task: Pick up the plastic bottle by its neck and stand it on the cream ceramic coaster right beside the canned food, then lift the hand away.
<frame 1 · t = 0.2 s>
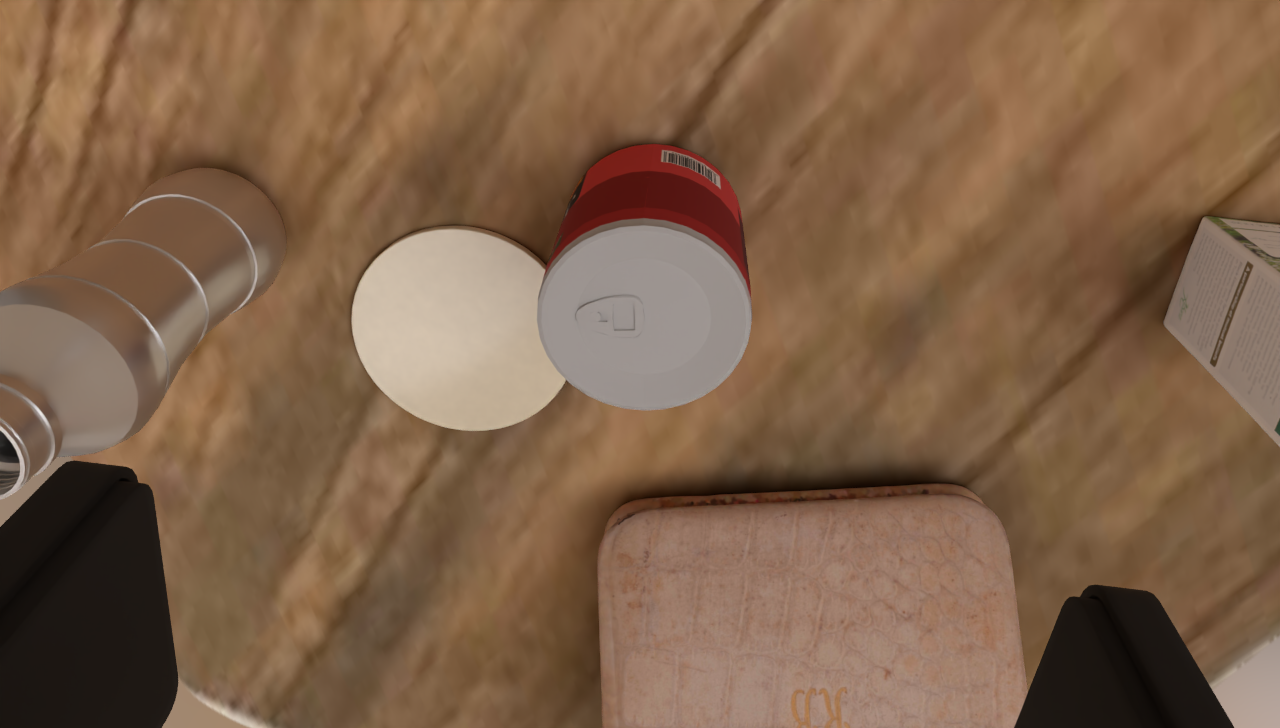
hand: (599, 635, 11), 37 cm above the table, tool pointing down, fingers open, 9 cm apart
coaster: (465, 330, 50), on the table
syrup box: (1238, 273, 47), on the table
case: (795, 623, 58), on the table
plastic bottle: (232, 220, 48), on the table
canned food: (654, 218, 47), on the table
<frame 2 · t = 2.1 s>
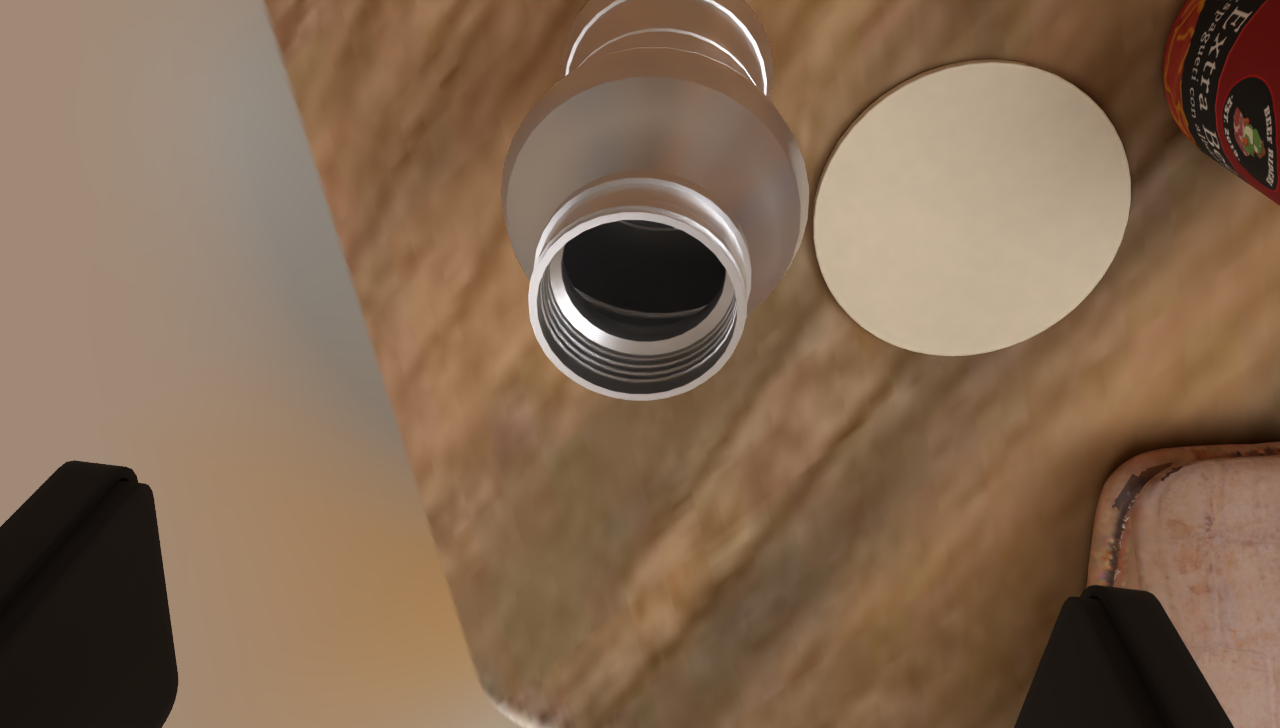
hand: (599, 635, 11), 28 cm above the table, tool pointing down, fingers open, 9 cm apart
coaster: (966, 215, 37), on the table
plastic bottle: (670, 56, 35), on the table
canned food: (1277, 45, 34), on the table
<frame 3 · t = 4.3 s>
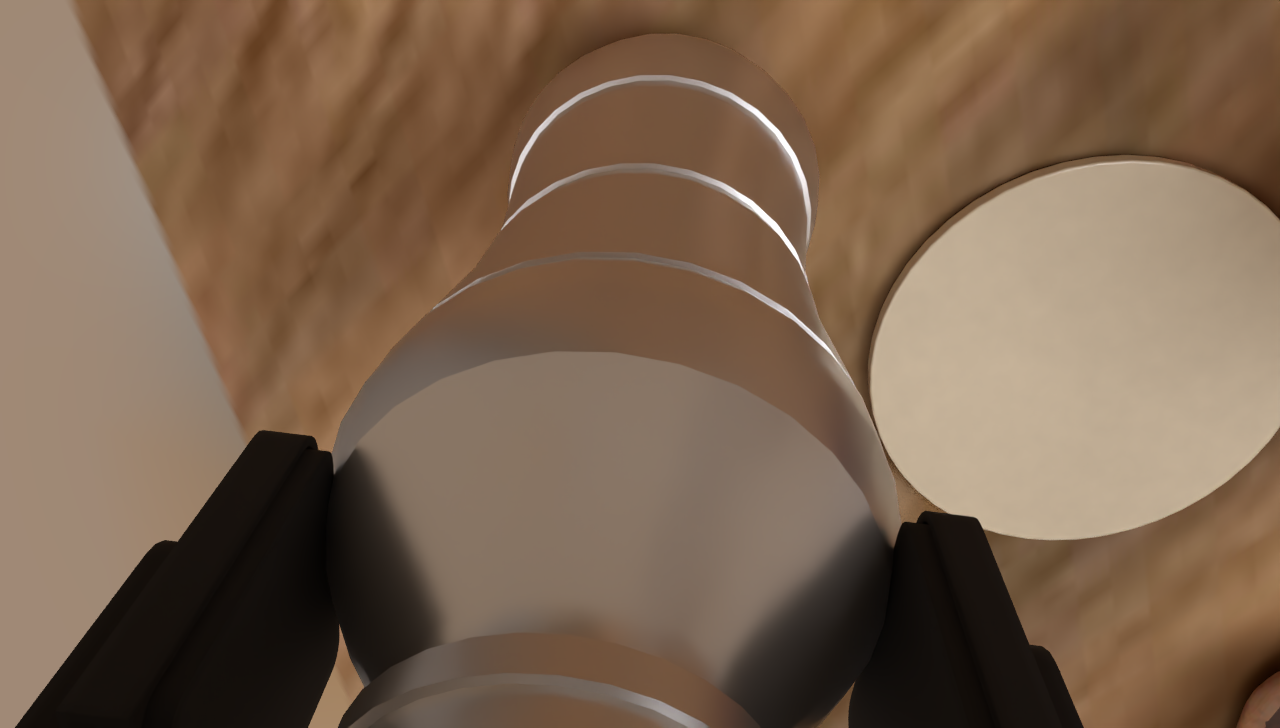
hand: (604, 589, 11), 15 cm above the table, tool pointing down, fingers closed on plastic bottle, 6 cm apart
coaster: (1081, 360, 27), on the table
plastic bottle: (671, 149, 25), on the table, touching gripper
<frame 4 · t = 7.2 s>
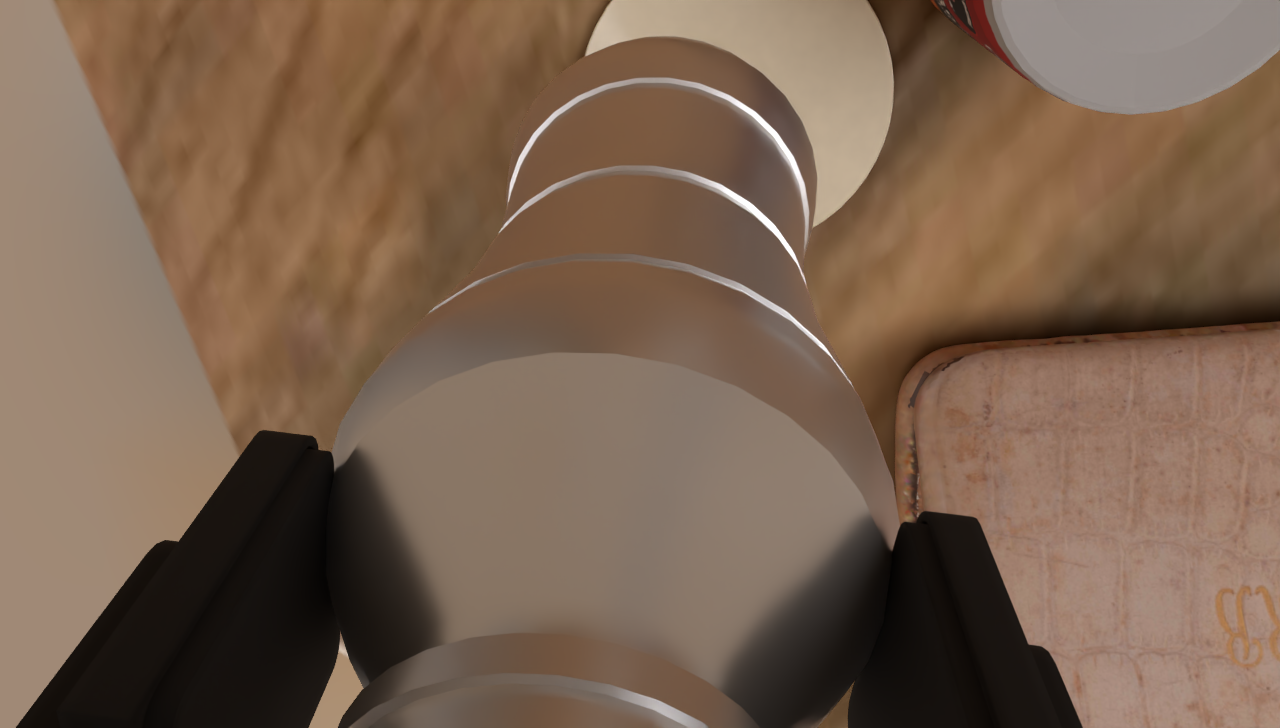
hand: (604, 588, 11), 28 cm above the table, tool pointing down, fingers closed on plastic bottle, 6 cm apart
coaster: (734, 100, 36), on the table
case: (1129, 523, 44), on the table
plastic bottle: (669, 152, 25), point 12 cm above the table, touching gripper
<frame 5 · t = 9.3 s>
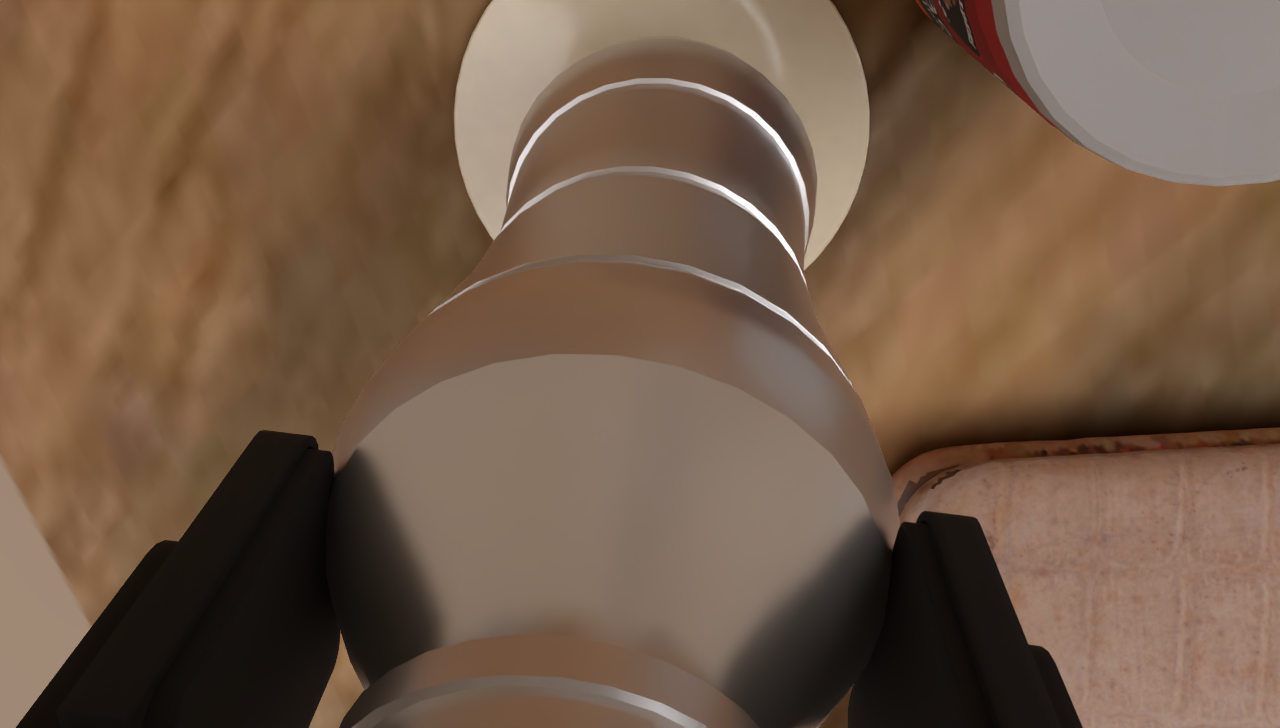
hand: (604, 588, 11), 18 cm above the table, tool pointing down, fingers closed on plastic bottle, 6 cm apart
coaster: (660, 134, 28), on the table
case: (1164, 657, 35), on the table
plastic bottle: (669, 152, 25), point 3 cm above the table, touching gripper
when the fingers open (16 cm above the table, at t = 10.4 s): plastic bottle stays where it is, resting on coaster.
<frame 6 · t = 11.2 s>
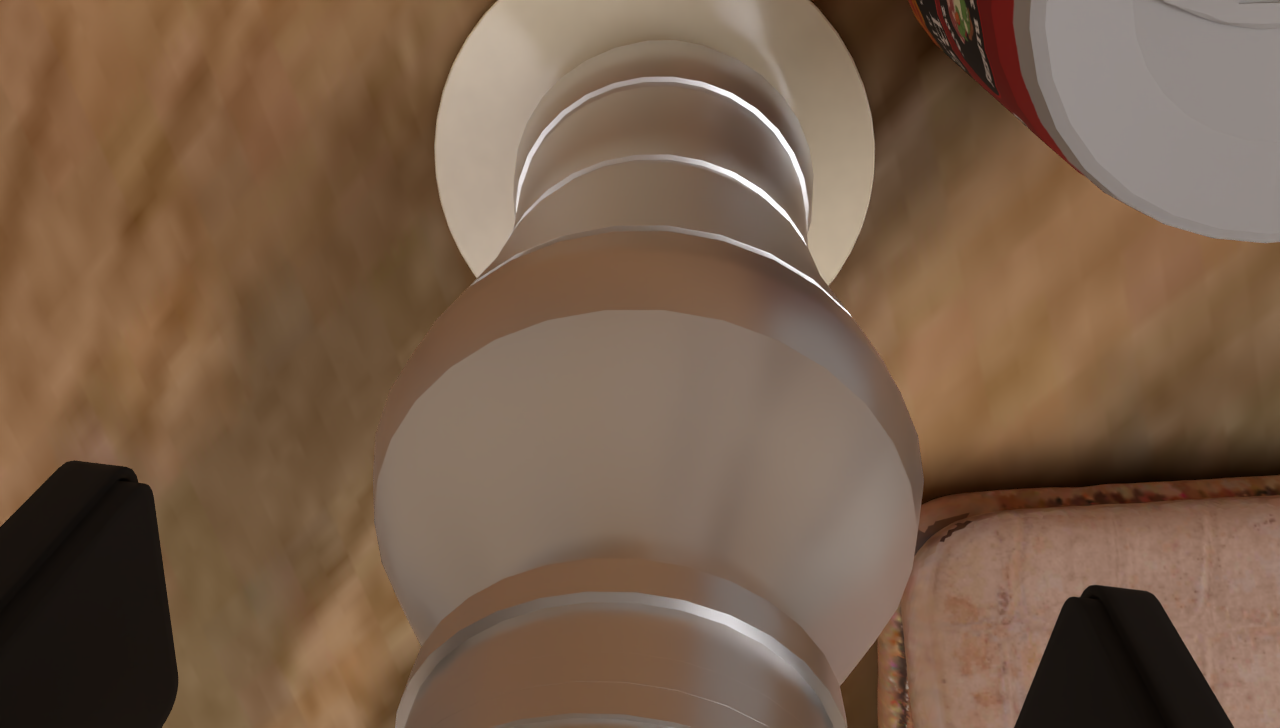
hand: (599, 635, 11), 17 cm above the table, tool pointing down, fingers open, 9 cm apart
coaster: (653, 168, 26), on the table
case: (1183, 709, 34), on the table
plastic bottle: (667, 154, 26), resting on coaster
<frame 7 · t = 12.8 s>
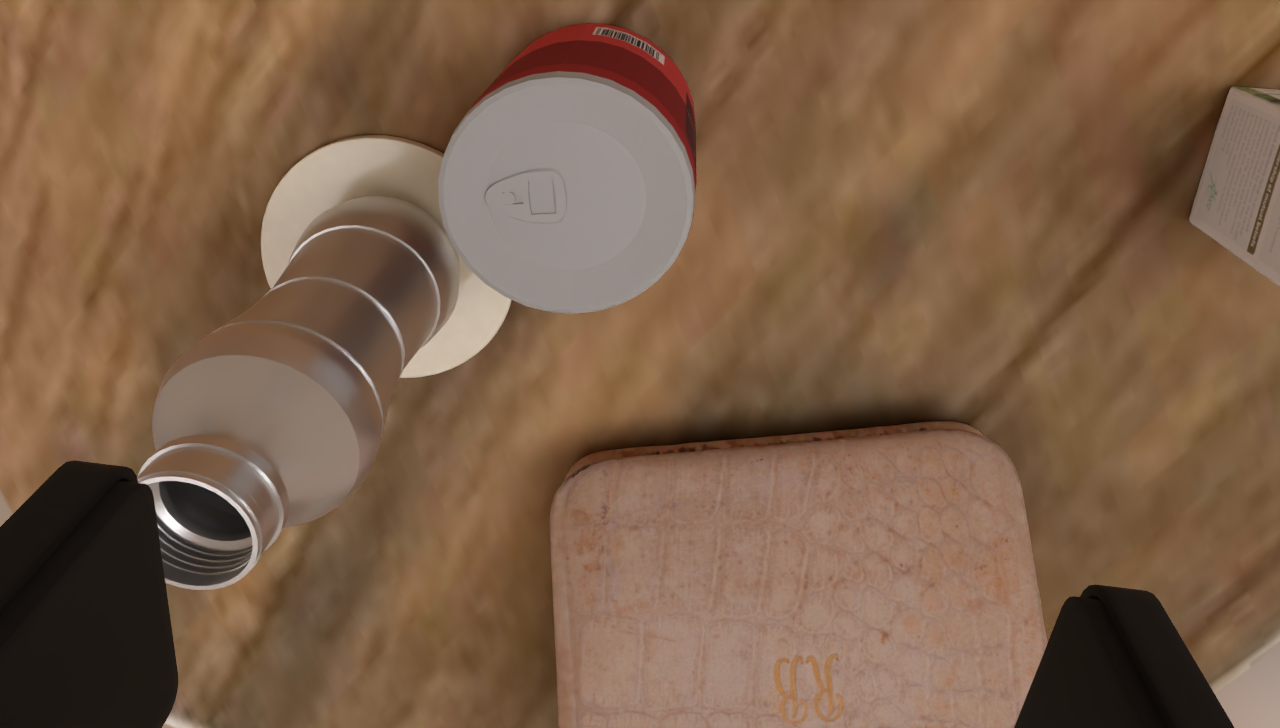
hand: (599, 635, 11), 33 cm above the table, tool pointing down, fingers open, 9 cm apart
coaster: (390, 260, 44), on the table
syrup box: (1274, 156, 41), on the table
case: (784, 593, 52), on the table
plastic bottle: (395, 253, 44), resting on coaster
canned food: (596, 117, 41), on the table
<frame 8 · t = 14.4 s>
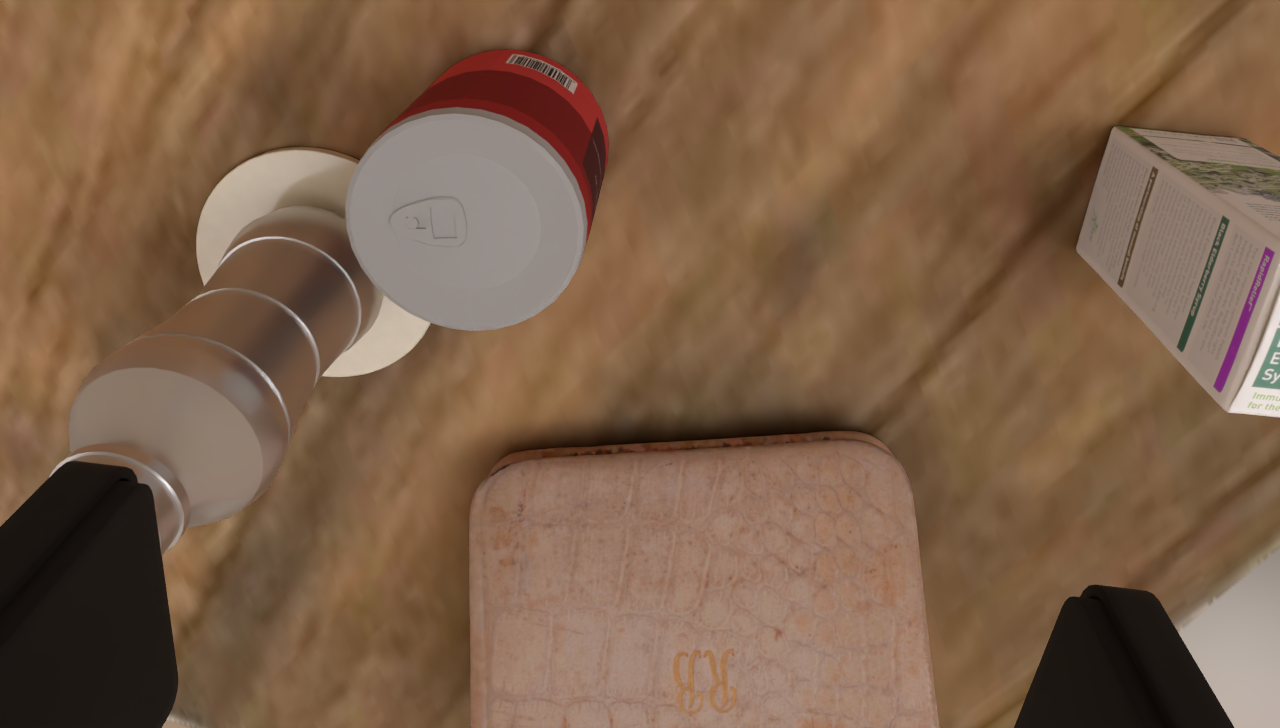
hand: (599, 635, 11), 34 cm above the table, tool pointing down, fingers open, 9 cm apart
coaster: (321, 265, 46), on the table
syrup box: (1155, 192, 43), on the table
case: (699, 587, 54), on the table
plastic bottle: (325, 259, 46), resting on coaster
canned food: (517, 136, 43), on the table
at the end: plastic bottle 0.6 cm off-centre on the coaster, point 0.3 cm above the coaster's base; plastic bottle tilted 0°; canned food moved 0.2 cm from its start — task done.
